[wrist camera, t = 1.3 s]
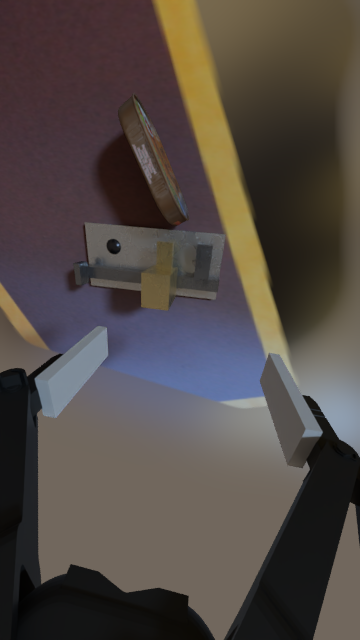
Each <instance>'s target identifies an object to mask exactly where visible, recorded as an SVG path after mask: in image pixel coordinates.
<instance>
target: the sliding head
mask: <svg viewBox="0 0 360 640" xmlns="http://www.w3.org/2000/svg"><path fill="white" fill-rule="evenodd" d="M173 254H174V242H164V241H157V258H156V265H153V266H151V267H150V268H148V269H146V270H145V271H143V272H141V307H144V308H152V309H160V310H169V308H170V306H171V305H172V303H173V301H174V299H175V297H176V286H177V272H178V267H173Z"/></svg>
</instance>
